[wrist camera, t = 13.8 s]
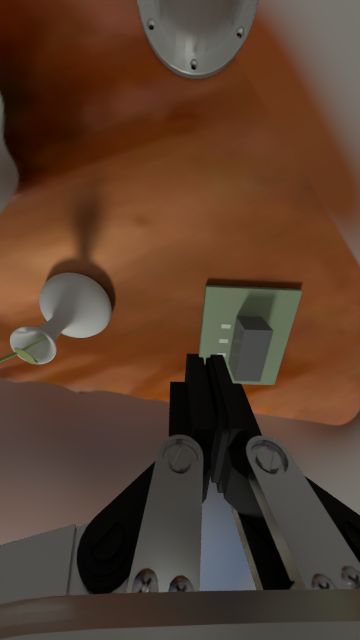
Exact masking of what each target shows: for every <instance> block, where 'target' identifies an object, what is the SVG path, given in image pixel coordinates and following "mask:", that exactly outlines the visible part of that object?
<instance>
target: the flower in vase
mask: <svg viewBox="0 0 360 640" xmlns="http://www.w3.org/2000/svg"><path fill="white" fill-rule="evenodd" d="M39 302H40V308H41V311H42V314H43V316H44V317H45V319H46V320H47V322H46V323H44V324H42V325H40V326H38V327H29V326H27V327H21V328H18V329H16V330H15V331H14V332H13V333H12V334H11V337H10V344H11V347H12V349H13V351H14V353H12V354H10V355H8V356H5V357H3V358H1V359H0V362H2V361H4V360H7V359H9V358H11V357H13V356H15V355H18V356H19V357H20V358H22V359H23V360H25V361H27V362H29V363H31V364H44V363H47V362H50V361H51V360H52V359H53V358H54V357H55V354H56V345H55V341H56V339H57V338H58V336H59V335H60V333H63V334H65V335H68V336H71V337H77V338H85V337H90V336H93V335H96V334H98V333H100V332H101V331H102V330H103V329H105V327H106V326H107V325H108V323H109V321H110V318H111V312H112V309H111V303H110V300H109V297H108V295H107V294H106V292H105V291H104V289H103V288H102V287H101V286H100V285H99V284H98V283H97V282H95V281H94V280H93V279H91V278H89V277H87V276H85V275H82V274H79V273H71V272H67V273H60V274H57V275H55V276H53V277H51V278H50V279H49V280H48V281H47V282H46V283H45V284H44V286H43V288H42V290H41V293H40V299H39Z"/></svg>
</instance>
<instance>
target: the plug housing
mask: <svg viewBox="0 0 360 640" xmlns="http://www.w3.org/2000/svg"><path fill="white" fill-rule="evenodd" d="M273 331H274V330H273V329H272V328H271V327H270V326H269V325H268V324H267V322H266V321H265V320H264V319H263V318H262V317H245V316H236V321H235V327H234V332H233V338H232V344H231V349H230V355H229V361H228V365H229V367H230V370H231V373H232V376H233V378H234V381H255V382H260V381H261V377H262V373H263V369H264V365H265V362H266V358H267V354H268V350H269V346H270V343H271V339H272V335H273Z"/></svg>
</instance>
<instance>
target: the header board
mask: <svg viewBox="0 0 360 640" xmlns="http://www.w3.org/2000/svg"><path fill="white" fill-rule="evenodd" d="M301 294H302V290H300V289H291V288H267V287H243V286H220V285H205V295H204V304H203V314H202V324H201V334H200V344H199V353H198V354H199V357H203V358H204V363H205V362H206V357H210V355H211V354H216V355H223V356H224V359H225V362H226V365H227V368H228V371H229V373H230V376H231V379H232V382H233V383H240V384H263V385H274V384H275V380H276V377H277V374H278V370H279V367H280V364H281V360H282V357H283V354H284V351H285V347H286V344H287V341H288V337H289V334H290V331H291V327H292V324H293V321H294V317H295V314H296V311H297V307H298V304H299V301H300V298H301ZM236 316H245V317H262V318H263V319H264V320H265V321H266V322H267V324H268V325H269V326H270V327H271V328H272V329H273V330H274V331H273V335H272V339H271V343H270V346H269V350H268V354H267V358H266V362H265V365H264V369H263V373H262V377H261V381H260V382H255V381H234V378H233V376H232V373H231V370H230V367H229V365H228V361H229V355H230V349H231V344H232V338H233V332H234V327H235V321H236Z"/></svg>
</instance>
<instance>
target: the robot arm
mask: <svg viewBox="0 0 360 640" xmlns="http://www.w3.org/2000/svg"><path fill="white" fill-rule="evenodd" d="M137 3H138V9H139V14H140V19H141V22H142V26H143V29H144V32H145V35H146V37H147V39H148V42H149V44H150V46H151V48H152V49H153V51H154V52H155V54H156V56H157V57H158V58H159V59H160V60H161V62H162V63H163V64H164V65H165V66H166V67H167V68H169V69H170V70H171V71H173V72H174V73H176V74H178V75H180V76H183V77H185V78H192V79H200V78H207V77H209V76H212V75H214V74H216V73H218V72H219V71H221V70H222V69H224V68H225V67H226V66H227V65H228V64H229V63H230V62H231V61H232V60H233V59H234V58H235V56H236V55H237V54H238V52H239V51H240V49H241V48H242V46H243V44H244V42H245V40H246V38H247V36H248V33H249V31H250V28H251V25H252V23H253V20H254V16H255V12H256V9H257V5H258V0H137ZM150 28H153V30H150ZM237 36H240V38H238V37H237ZM192 67H195V68H196V70H193V69H191V68H192ZM169 409H170V410H169V438H167V439H166V440H164V442H163V443H162V444H161V445H160V447H159V450H158V453H157V458H156V461H155V462H154V463H153V464H152V465H151V466H150V467H148V468H147V470H145V471H144V472H143V473H142V474H141V475H140V476H139V477H138V478H137V479H136V480H134V481H133V482H132V483H131V484H130V485H129V486H128V487H127V488H126V489H125V490H124V491H123V492H122V493H121V494H119V496H117V497H116V498H115V499H114V500H113V501H112V502H111V503H110V504H109V505H108V506H106V507H105V508H104V509H103V510H102V511H101V512H100V513H99V514H98V515H97V516H96V517H95V518H94V519H93V520H92V521H91V522H90V523H88V524H84V525H81V526H78V527H76V526H75V524H73V525H69V526H66V527H62V528H59V529H55V530H52V531H48V532H45V533H42V534H38V535H34V536H31V537H27V538H24V539H21V540H17V541H13V542H10V543H6V544H3V545H0V640H360V515H359V514H357V513H356V512H354V511H353V510H352V509H350V508H349V507H347V506H346V505H345V504H343V503H342V502H340V501H339V500H338V499H336V498H334V497H333V496H332V495H330V494H329V493H328V492H326V491H325V490H323V489H322V488H321V487H319V486H318V485H317V484H315V483H314V482H312V481H311V480H310V479H308V478H307V477H305V476H304V475H303V474H302V472H301V470H300V469H299V467H298V466H297V464H296V463H295V461H294V459H293V458H292V456H291V455H290V453H289V452H288V451H287V449H286V448H285V447H284V446H283V445H282V444H281V443H279V442H278V441H276V440H274V439H273V438H270V437H267V436H262V434H261V432H260V429H259V427H258V424H257V422H256V419H255V417H254V414H253V412H252V409H251V407H250V404H249V402H248V399H247V397H246V394H245V392H244V389H243V387H242V385H241V384H240V383H233V382H232V379H231V376H230V373H229V371H228V368H227V365H226V362H225V359H224V356H223V355H216V354H211V355H210V357H206V362H205V363H204V358H203V357H199V354H187V359H186V372H185V382H170V408H169ZM210 476H211V481H212V483H216V484H217V490H218V493H224V498H225V500H226V501H227V502H228V503H229V504H230V505H231V508H232V513H233V516H234V520H235V523H236V526H237V529H238V532H239V536H240V539H241V542H242V545H243V548H244V551H245V554H246V558H247V561H248V564H249V567H250V570H251V573H252V577H253V580H254V583H255V586H256V590H249V591H248V590H247V591H199V588H200V555H201V521H202V503H203V502H204V501H205V499H206V496H207V490H208V485H209V480H210Z"/></svg>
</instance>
